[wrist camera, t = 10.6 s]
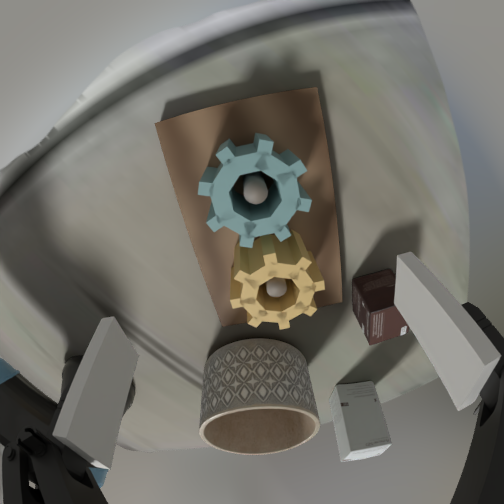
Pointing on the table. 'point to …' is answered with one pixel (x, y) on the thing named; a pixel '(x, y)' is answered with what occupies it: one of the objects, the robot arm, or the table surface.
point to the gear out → (275, 265)
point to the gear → (235, 205)
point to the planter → (257, 398)
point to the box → (377, 306)
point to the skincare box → (358, 421)
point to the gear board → (240, 129)
